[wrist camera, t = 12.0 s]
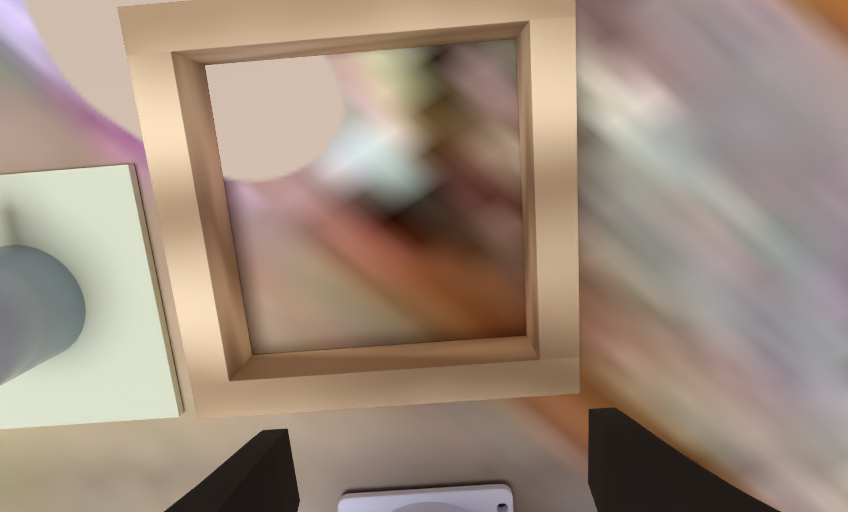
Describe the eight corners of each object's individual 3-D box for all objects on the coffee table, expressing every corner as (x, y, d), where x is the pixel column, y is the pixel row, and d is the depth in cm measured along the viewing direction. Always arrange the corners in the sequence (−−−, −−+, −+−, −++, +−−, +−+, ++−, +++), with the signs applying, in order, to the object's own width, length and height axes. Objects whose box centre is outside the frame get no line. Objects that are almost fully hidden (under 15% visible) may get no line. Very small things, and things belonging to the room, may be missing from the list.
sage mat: (183, 412, 22) (179, 417, 21) (-54, 428, 22) (-63, 433, 22) (133, 164, 19) (127, 164, 19) (-131, 185, 20) (-142, 186, 19)
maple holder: (562, 365, 21) (580, 393, 19) (223, 388, 21) (197, 419, 19) (554, -9, 18) (574, -34, 15) (159, 26, 18) (117, 7, 16)
